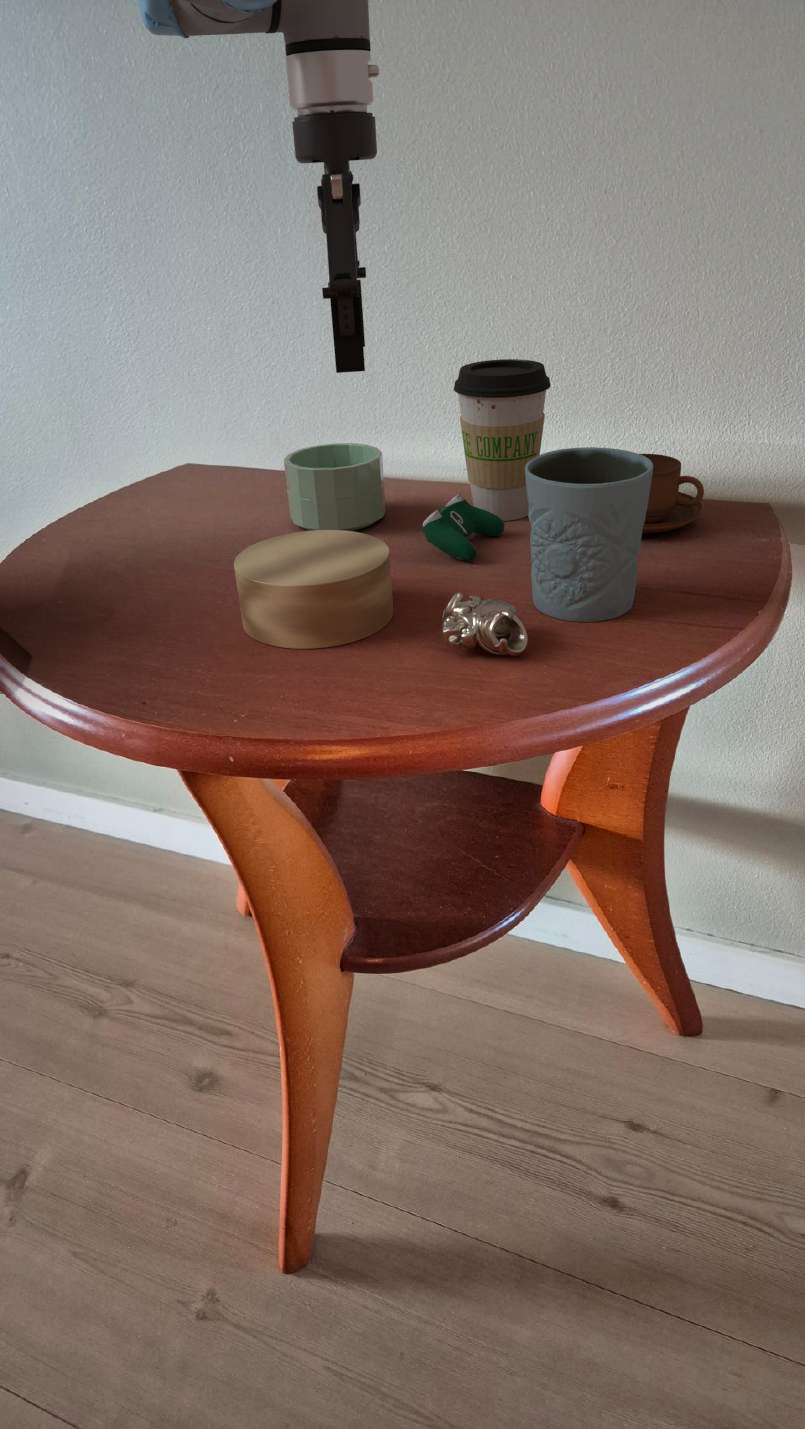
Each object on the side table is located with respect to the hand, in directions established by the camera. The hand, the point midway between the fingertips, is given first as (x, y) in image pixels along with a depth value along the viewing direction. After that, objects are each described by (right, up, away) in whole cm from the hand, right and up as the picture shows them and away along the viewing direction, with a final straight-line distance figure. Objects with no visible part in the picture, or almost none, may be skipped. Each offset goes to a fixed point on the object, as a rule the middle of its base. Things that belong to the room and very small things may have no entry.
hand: (351, 359), depth 99 cm
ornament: (+11, -30, -21) cm, 39 cm away
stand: (-2, -27, -14) cm, 31 cm away
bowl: (-2, -15, +8) cm, 17 cm away
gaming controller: (+11, -19, -1) cm, 22 cm away
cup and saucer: (+29, -16, +2) cm, 34 cm away
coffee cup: (+16, -14, +8) cm, 23 cm away
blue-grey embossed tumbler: (+21, -26, -15) cm, 37 cm away
